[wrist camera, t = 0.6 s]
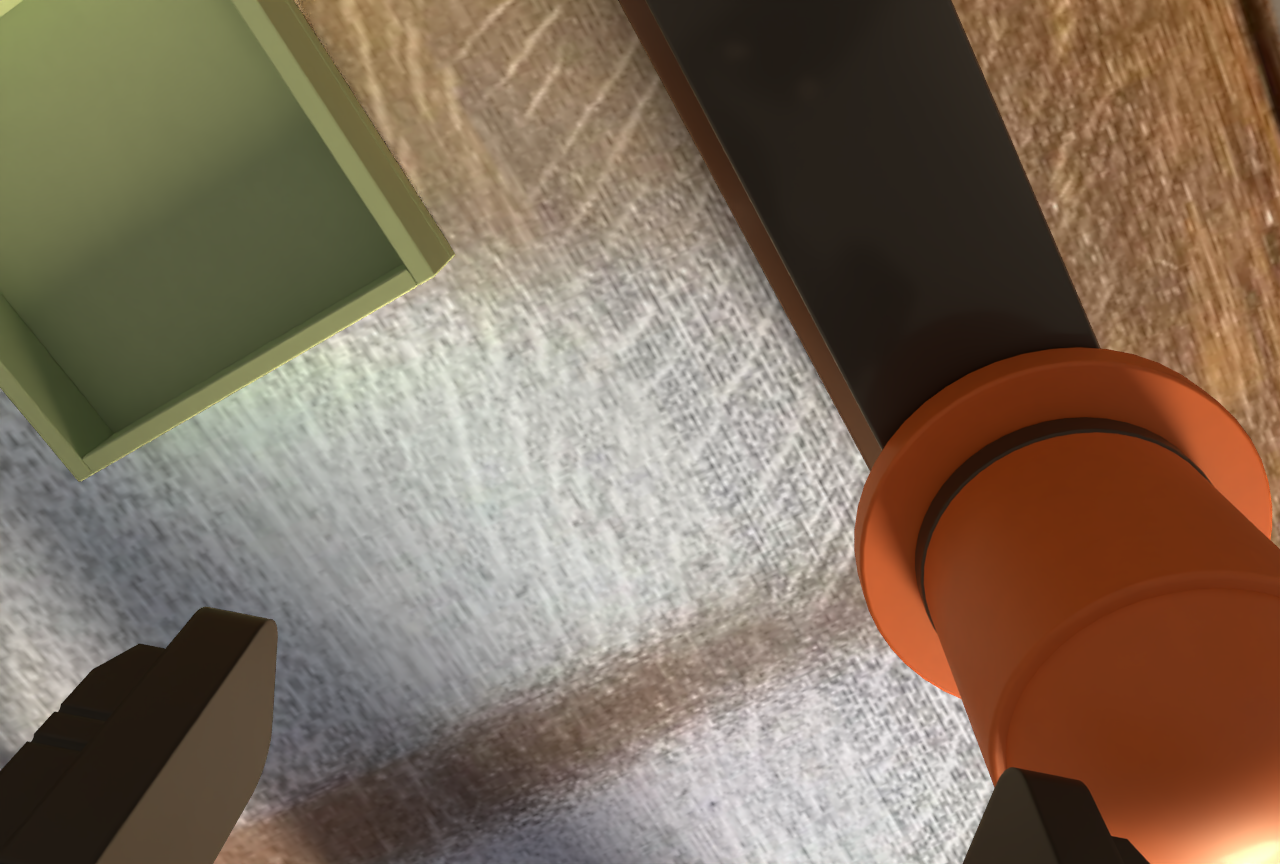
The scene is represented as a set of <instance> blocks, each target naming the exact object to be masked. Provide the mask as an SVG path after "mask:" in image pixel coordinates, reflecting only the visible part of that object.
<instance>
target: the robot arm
mask: <svg viewBox="0 0 1280 864" xmlns="http://www.w3.org/2000/svg"><path fill="white" fill-rule="evenodd" d="M277 639H278V632H277V625H276V623H275V621H274V620H272V619H267V618H262V617H257V616H252V615H247V614H242V613H237V612H231V611H226V610H221V609H216V608H211V607H202V608H200V609H199V610H198V611H197V612H196V613H195V614H194V615H193V616H192V617H191V619H190V620H189V621H188V622H187V623H186V625H185V626H184V627H183V628H182V629H181V631H180V632H179V633H178V634H177V636H176V637H175V638H174V639H173V640H172V642H171V643H170V644H169V645H168V646H167V648H166V649H165V648H160V647H155V646H149V645H144V644H138V645H136V646H134V647H132V648H130V649H129V650H127V651H125V652H123V653H121V654H120V655H118V656H116V657H114V658H112V659H111V660H109V661H107V662H105V663H103V664H102V665H100V666H98V667H96V668H94V669H93V670H92V671H91V672H90V673H89V674H88V675H87V676H86V677H85V678H84V679H83V681H82V682H81V683H80V684H79V685H78V686H77V687H76V688H75V689H74V690H73V692H72V693H71V694H70V695H69V696H68V697H67V698H66V699H65V700H64V701H63V703H62V704H61V707H60V710H59V711H58V712H54V713H53V714H52V715H51V716H50V717H49V718H48V719H47V720H46V721H45V722H44V724H43V725H42V726H41V727H40V728H39V729H38V730H37V731H36V732H35V733H34V738H33V740H32V741H31V742H28V741H27V742H26V743H25V744H24V746H23V747H22V748H21V749H20V750H19V751H18V752H17V753H16V754H15V755H14V757H13V758H12V759H11V760H10V761H9V762H8V763H7V764H6V765H5V766H4V768H3V769H2V770H1V771H0V864H213V863H214V861H215V859H216V858H217V856H218V854H219V852H220V851H221V849H222V847H223V845H224V843H225V842H226V840H227V838H228V836H229V835H230V833H231V831H232V829H233V828H234V826H235V824H236V822H237V821H238V819H239V817H240V815H241V814H242V812H243V810H244V808H245V807H246V805H247V803H248V801H249V799H250V798H251V796H252V794H253V792H254V790H255V788H256V786H257V784H258V782H259V779H260V777H261V774H262V771H263V768H264V765H265V762H266V759H267V755H268V751H269V746H270V741H271V734H272V721H273V705H274V689H275V672H276V656H277ZM963 864H1150V863H1149V862H1148V861H1147V860H1146V859H1145V857H1144V856H1143V855H1142V854H1141V853H1140V852H1139V851H1138V850H1137V849H1136V848H1135V847H1134V845H1133V844H1132V843H1131V842H1130V841H1129V840H1128V839H1125V838H1120V837H1115V836H1111V835H1110V832H1109V830H1108V828H1107V826H1106V824H1105V822H1104V820H1103V818H1102V816H1101V813H1100V811H1099V809H1098V807H1097V805H1096V803H1095V801H1094V799H1093V797H1092V795H1091V793H1090V791H1089V789H1088V787H1087V786H1086V785H1085V784H1084V783H1083V782H1082V781H1080V780H1076V779H1071V778H1066V777H1061V776H1056V775H1051V774H1046V773H1041V772H1036V771H1030V770H1025V769H1020V768H1015V767H1010V768H1008V769H1006V770H1005V771H1004V772H1003V773H1002V774H1001V776H1000V777H999V779H998V782H997V784H996V786H995V788H994V791H993V793H992V795H991V798H990V800H989V803H988V805H987V807H986V810H985V812H984V814H983V817H982V819H981V821H980V824H979V826H978V829H977V831H976V833H975V836H974V838H973V840H972V843H971V845H970V847H969V850H968V852H967V855H966V857H965V859H964V862H963Z"/></svg>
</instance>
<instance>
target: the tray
mask: <svg viewBox="0 0 1280 864" xmlns="http://www.w3.org/2000/svg"><path fill="white" fill-rule="evenodd" d="M454 255H455V253H454V251H453V250H452V248H451V247H450V245H449V244H448V242H447V240H446V239H445V237H444V236H443V234H442V233H441V231H440V229H439V228H438V226H437V225H436V223H435V222H434V220H433V218H432V217H431V215H430V214H429V212H428V211H427V209H426V207H425V206H424V204H423V203H422V201H421V200H420V198H419V196H418V195H417V193H416V192H415V190H414V189H413V187H412V186H411V184H410V182H409V181H408V179H407V178H406V176H405V175H404V173H403V171H402V170H401V168H400V167H399V165H398V164H397V162H396V160H395V159H394V157H393V156H392V154H391V153H390V151H389V149H388V148H387V146H386V145H385V143H384V142H383V140H382V138H381V137H380V135H379V134H378V132H377V131H376V129H375V127H374V126H373V124H372V123H371V121H370V120H369V118H368V117H367V115H366V113H365V112H364V110H363V109H362V107H361V106H360V104H359V102H358V101H357V99H356V98H355V96H354V95H353V93H352V91H351V90H350V88H349V87H348V85H347V84H346V82H345V80H344V79H343V77H342V76H341V74H340V73H339V71H338V69H337V68H336V66H335V65H334V63H333V62H332V60H331V58H330V57H329V55H328V54H327V52H326V51H325V49H324V48H323V46H322V44H321V43H320V41H319V40H318V38H317V37H316V35H315V33H314V32H313V30H312V29H311V27H310V26H309V24H308V22H307V21H306V19H305V18H304V16H303V15H302V13H301V11H300V10H299V8H298V7H297V5H296V4H295V2H294V0H0V388H1V389H2V390H3V392H4V393H5V394H6V395H7V396H8V398H9V399H10V400H11V401H12V402H13V404H14V405H15V406H16V407H17V408H18V410H19V411H20V412H21V413H22V414H23V416H24V417H25V418H26V419H27V420H28V422H29V423H30V424H31V425H32V426H33V428H34V429H35V430H36V431H37V432H38V434H39V435H40V436H41V437H42V438H43V440H44V441H45V442H46V443H47V444H48V446H49V447H50V448H51V449H52V450H53V452H54V453H55V454H56V455H57V456H58V458H59V459H60V460H61V461H62V462H63V464H64V465H65V466H66V467H67V468H68V470H69V471H70V472H71V473H72V474H73V476H74V477H75V478H76V479H77V480H78V481H79V482H80V481H83V480H85V479H86V478H88V477H90V476H92V475H93V474H94V473H97V472H98V471H100V470H102V469H104V468H105V467H107V466H109V465H110V464H112V463H114V462H116V461H117V460H119V459H121V458H123V457H124V456H126V455H128V454H129V453H131V452H133V451H135V450H136V449H138V448H140V447H141V446H143V445H145V444H147V443H148V442H150V441H152V440H154V439H155V438H157V437H159V436H160V435H162V434H164V433H166V432H167V431H169V430H171V429H173V428H174V427H176V426H178V425H179V424H181V423H183V422H185V421H186V420H188V419H190V418H192V417H193V416H195V415H197V414H198V413H200V412H202V411H204V410H205V409H207V408H209V407H210V406H212V405H214V404H216V403H217V402H219V401H221V400H223V399H224V398H226V397H228V396H229V395H231V394H233V393H235V392H236V391H238V390H240V389H242V388H243V387H245V386H247V385H248V384H250V383H252V382H254V381H255V380H257V379H259V378H261V377H262V376H264V375H266V374H267V373H269V372H271V371H273V370H274V369H276V368H278V367H280V366H281V365H283V364H285V363H286V362H288V361H290V360H292V359H293V358H295V357H297V356H298V355H300V354H302V353H304V352H305V351H307V350H309V349H311V348H312V347H314V346H316V345H317V344H319V343H321V342H323V341H324V340H326V339H328V338H330V337H331V336H333V335H335V334H336V333H338V332H340V331H342V330H343V329H345V328H347V327H349V326H350V325H352V324H354V323H355V322H357V321H359V320H361V319H362V318H364V317H366V316H367V315H369V314H371V313H373V312H374V311H376V310H378V309H380V308H381V307H383V306H385V305H386V304H388V303H390V302H392V301H393V300H395V299H397V298H399V297H400V296H402V295H404V294H405V293H407V292H409V291H411V290H412V289H414V288H416V287H417V286H418V285H421V284H423V283H424V282H426V281H428V280H430V279H431V278H433V277H435V275H436V274H437V273H438V272H439V271H440V270H441V269H442V268H443V267H444V266H445V265H446V264H447V263H448V262H449V261H450V260H451V259H452V258H453V257H454Z"/></svg>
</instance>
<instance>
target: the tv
mask: <svg viewBox="0 0 1280 864" xmlns="http://www.w3.org/2000/svg"><path fill="white" fill-rule="evenodd" d="M618 1H619V2H620V4H621V6H622V8H623V10H624V12H625V14H626V16H627V17H628V19H629V21H630V23H631V25H632V27H633V29H634V31H635V32H636V34H637V36H638V38H639V40H640V42H641V44H642V46H643V47H644V49H645V51H646V53H647V55H648V57H649V59H650V60H651V62H652V64H653V66H654V68H655V70H656V72H657V74H658V75H659V77H660V79H661V81H662V83H663V85H664V87H665V89H666V90H667V92H668V94H669V96H670V98H671V100H672V102H673V103H674V105H675V107H676V109H677V111H678V113H679V115H680V117H681V118H682V120H683V122H684V124H685V126H686V128H687V130H688V132H689V133H690V135H691V137H692V139H693V141H694V143H695V145H696V147H697V148H698V150H699V152H700V154H701V156H702V158H703V160H704V161H705V163H706V165H707V167H708V169H709V171H710V173H711V175H712V176H713V178H714V180H715V182H716V184H717V186H718V188H719V190H720V191H721V193H722V195H723V197H724V199H725V201H726V203H727V205H728V206H729V208H730V210H731V212H732V214H733V216H734V218H735V219H736V221H737V223H738V225H739V227H740V229H741V231H742V233H743V234H744V236H745V238H746V240H747V242H748V244H749V246H750V248H751V249H752V251H753V253H754V255H755V257H756V259H757V261H758V262H759V264H760V266H761V268H762V270H763V272H764V274H765V276H766V277H767V279H768V281H769V283H770V285H771V287H772V289H773V291H774V292H775V294H776V296H777V298H778V300H779V302H780V304H781V306H782V307H783V309H784V311H785V313H786V315H787V317H788V319H789V320H790V322H791V324H792V326H793V328H794V330H795V332H796V334H797V335H798V337H799V339H800V341H801V343H802V345H803V347H804V349H805V350H806V352H807V354H808V356H809V358H810V360H811V362H812V364H813V365H814V367H815V369H816V371H817V373H818V375H819V377H820V378H821V380H822V382H823V384H824V386H825V388H826V390H827V392H828V393H829V395H830V397H831V399H832V401H833V403H834V405H835V407H836V408H837V410H838V412H839V414H840V416H841V418H842V420H843V421H844V423H845V425H846V427H847V429H848V431H849V433H850V435H851V436H852V438H853V440H854V442H855V444H856V446H857V448H858V450H859V451H860V453H861V455H862V457H863V459H864V461H865V463H866V465H867V466H868V468H869V470H870V472H871V470H872V467H873V465H874V463H875V461H876V460H877V458H878V457H879V455H880V453H881V452H882V450H883V449H884V447H885V446H886V444H887V442H888V441H889V440H890V439H891V437H892V436H893V435H894V434H895V433H896V431H897V430H898V429H899V428H900V426H901V425H902V424H903V423H904V422H905V421H906V420H907V419H908V418H909V417H910V416H911V415H912V414H913V413H914V412H915V411H916V410H917V409H918V408H919V407H920V406H922V405H923V404H924V403H925V402H926V401H928V400H929V399H930V398H932V397H933V396H934V395H936V394H937V393H938V392H940V391H941V390H942V389H944V388H945V387H947V386H948V385H950V384H952V383H954V382H955V381H957V380H959V379H961V378H962V377H964V376H966V375H967V374H969V373H971V372H974V371H976V370H978V369H981V368H983V367H985V366H988V365H990V364H992V363H995V362H998V361H1001V360H1004V359H1008V358H1011V357H1014V356H1018V355H1021V354H1025V353H1031V352H1036V351H1042V350H1048V349H1058V348H1076V347H1082V348H1097V349H1101V348H1100V346H1099V343H1098V341H1097V339H1096V336H1095V334H1094V332H1093V329H1092V327H1091V325H1090V322H1089V320H1088V318H1087V315H1086V313H1085V311H1084V308H1083V306H1082V304H1081V301H1080V299H1079V297H1078V294H1077V292H1076V290H1075V287H1074V285H1073V283H1072V280H1071V278H1070V276H1069V273H1068V271H1067V269H1066V267H1065V264H1064V262H1063V260H1062V257H1061V255H1060V253H1059V250H1058V248H1057V246H1056V243H1055V241H1054V239H1053V236H1052V234H1051V232H1050V229H1049V227H1048V225H1047V222H1046V220H1045V218H1044V215H1043V213H1042V211H1041V208H1040V206H1039V204H1038V201H1037V199H1036V197H1035V194H1034V192H1033V190H1032V187H1031V185H1030V183H1029V180H1028V178H1027V176H1026V173H1025V171H1024V169H1023V166H1022V164H1021V162H1020V159H1019V157H1018V155H1017V152H1016V150H1015V148H1014V145H1013V143H1012V141H1011V138H1010V136H1009V134H1008V131H1007V129H1006V127H1005V124H1004V122H1003V120H1002V117H1001V115H1000V113H999V110H998V108H997V106H996V103H995V101H994V99H993V96H992V94H991V92H990V89H989V87H988V85H987V82H986V80H985V78H984V75H983V73H982V71H981V68H980V66H979V64H978V61H977V59H976V57H975V54H974V52H973V50H972V47H971V45H970V43H969V40H968V38H967V36H966V33H965V31H964V29H963V26H962V24H961V22H960V19H959V17H958V15H957V12H956V10H955V8H954V5H953V3H952V1H951V0H618Z"/></svg>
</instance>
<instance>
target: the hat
mask: <svg viewBox="0 0 1280 864" xmlns="http://www.w3.org/2000/svg"><path fill="white" fill-rule="evenodd" d="M1271 532H1272V503H1271V496H1270V489H1269V482H1268V479H1267V476H1266V473H1265V469H1264V466H1263V463H1262V460H1261V458H1260V456H1259V454H1258V452H1257V450H1256V448H1255V446H1254V444H1253V442H1252V440H1251V438H1250V437H1249V436H1248V434H1247V433H1246V432H1245V430H1244V429H1243V428H1242V426H1241V425H1240V424H1239V422H1238V421H1237V420H1236V419H1235V418H1234V417H1233V416H1232V415H1231V414H1230V413H1229V412H1228V411H1227V410H1226V409H1225V408H1224V407H1223V406H1222V405H1221V404H1220V403H1219V402H1218V401H1216V400H1215V399H1214V398H1213V397H1211V396H1210V395H1209V394H1208V393H1206V392H1205V391H1204V390H1202V389H1201V388H1200V387H1198V386H1197V385H1195V384H1194V383H1193V382H1191V381H1190V380H1188V379H1187V378H1185V377H1184V376H1183V375H1181V374H1179V373H1177V372H1175V371H1173V370H1171V369H1169V368H1167V367H1165V366H1163V365H1162V364H1160V363H1157V362H1154V361H1151V360H1148V359H1145V358H1143V357H1140V356H1137V355H1134V354H1129V353H1124V352H1119V351H1114V350H1108V349H1097V348H1082V347H1076V348H1058V349H1048V350H1042V351H1036V352H1031V353H1025V354H1021V355H1018V356H1014V357H1011V358H1008V359H1004V360H1001V361H998V362H995V363H992V364H990V365H988V366H985V367H983V368H981V369H978V370H976V371H974V372H971V373H969V374H967V375H966V376H964V377H962V378H961V379H959V380H957V381H955V382H954V383H952V384H950V385H948V386H947V387H945V388H944V389H942V390H941V391H940V392H938V393H937V394H936V395H934V396H933V397H932V398H930V399H929V400H928V401H926V402H925V403H924V404H923V405H922V406H920V407H919V408H918V409H917V410H916V411H915V412H914V413H913V414H912V415H911V416H910V417H909V418H908V419H907V420H906V421H905V422H904V423H903V424H902V425H901V426H900V428H899V429H898V430H897V431H896V433H895V434H894V435H893V436H892V437H891V439H890V440H889V441H888V442H887V444H886V446H885V447H884V449H883V450H882V452H881V453H880V455H879V457H878V458H877V460H876V461H875V463H874V465H873V467H872V470H871V472H870V474H869V476H868V478H867V481H866V483H865V485H864V488H863V492H862V495H861V498H860V502H859V505H858V509H857V516H856V523H855V529H854V552H855V558H856V565H857V571H858V576H859V579H860V583H861V587H862V590H863V593H864V597H865V600H866V603H867V606H868V609H869V612H870V614H871V616H872V618H873V620H874V622H875V624H876V626H877V628H878V630H879V632H880V633H881V635H882V636H883V638H884V639H885V641H886V642H887V643H888V645H889V646H890V648H891V649H892V650H893V651H894V652H895V653H896V654H897V655H898V656H899V657H900V659H901V660H902V661H903V662H904V663H905V664H906V665H907V666H909V667H910V668H911V669H912V670H914V671H915V672H916V673H917V674H919V675H920V676H921V677H922V678H923V679H925V680H927V681H928V682H930V683H932V684H933V685H935V686H936V687H938V688H940V689H941V690H943V691H945V692H947V693H949V694H952V695H954V696H956V697H958V698H961V699H962V701H963V704H964V707H965V710H966V712H967V715H968V718H969V720H970V723H971V726H972V728H973V731H974V734H975V736H976V739H977V742H978V745H979V747H980V750H981V753H982V755H983V758H984V761H985V763H986V766H987V769H988V771H989V774H990V777H991V779H992V782H993V785H994V788H995V786H996V784H997V782H998V779H999V777H1000V776H1001V774H1002V773H1003V772H1004V771H1005V770H1006V769H1008V768H1010V767H1015V768H1020V769H1025V770H1030V771H1036V772H1041V773H1046V774H1051V775H1056V776H1061V777H1066V778H1071V779H1076V780H1080V781H1082V782H1083V783H1084V784H1085V785H1086V786H1087V787H1088V789H1089V791H1090V793H1091V795H1092V797H1093V799H1094V801H1095V803H1096V805H1097V807H1098V809H1099V811H1100V813H1101V816H1102V818H1103V820H1104V822H1105V824H1106V826H1107V828H1108V830H1109V832H1110V835H1111V836H1115V837H1120V838H1125V839H1128V840H1129V841H1130V842H1131V843H1132V844H1133V845H1134V847H1135V848H1136V849H1137V850H1138V851H1139V852H1140V853H1141V854H1142V855H1143V856H1144V857H1145V859H1146V860H1147V861H1148V862H1149V863H1150V864H1280V549H1279V548H1278V547H1277V546H1276V545H1275V544H1274V543H1273V542H1272V541H1271V540H1270V537H1271Z"/></svg>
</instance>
